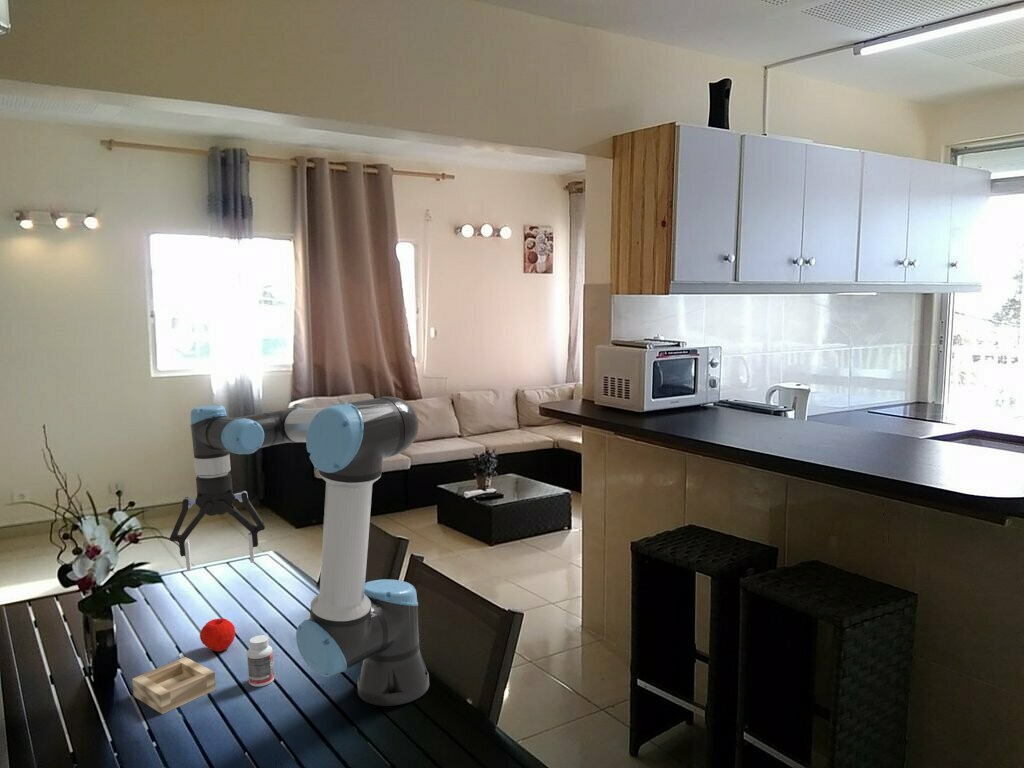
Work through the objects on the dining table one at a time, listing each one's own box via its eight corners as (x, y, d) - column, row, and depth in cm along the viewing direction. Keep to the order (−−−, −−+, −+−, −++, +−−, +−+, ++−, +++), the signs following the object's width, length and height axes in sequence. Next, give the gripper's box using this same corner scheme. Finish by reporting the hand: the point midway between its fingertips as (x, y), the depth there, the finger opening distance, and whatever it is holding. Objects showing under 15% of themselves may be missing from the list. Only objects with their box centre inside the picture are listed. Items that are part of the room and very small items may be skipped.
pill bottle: (277, 682, 171) (274, 640, 170) (252, 690, 168) (249, 646, 167) (270, 672, 175) (267, 631, 174) (246, 679, 172) (242, 637, 171)
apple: (194, 655, 185) (191, 625, 184) (215, 640, 192) (213, 611, 192) (222, 658, 183) (220, 628, 182) (243, 643, 190) (241, 614, 189)
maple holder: (216, 689, 168) (214, 672, 168) (162, 714, 159) (160, 695, 159) (186, 673, 176) (185, 656, 175) (133, 696, 167) (132, 678, 166)
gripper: (270, 465, 184) (277, 552, 186) (155, 476, 176) (164, 567, 179) (271, 471, 176) (278, 562, 179) (150, 483, 169) (159, 578, 172)
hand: (221, 565), depth 179 cm, fingers open, 13 cm apart
